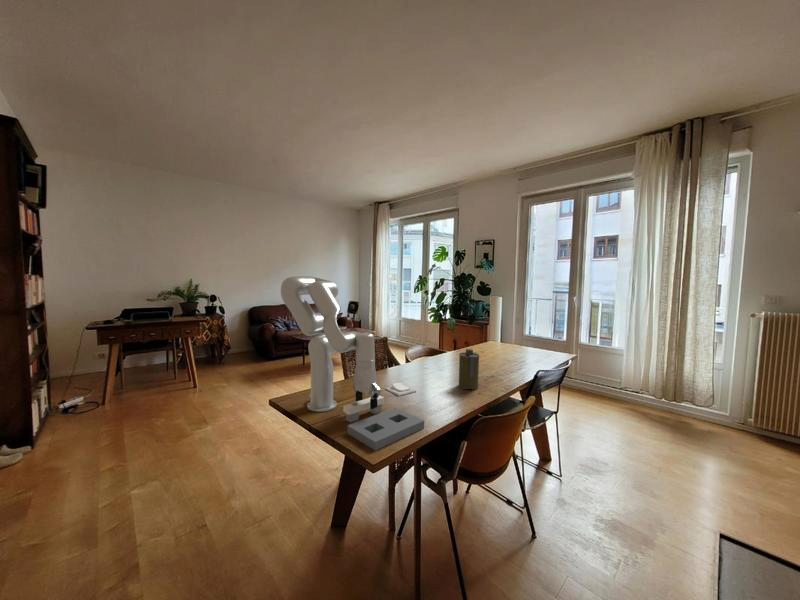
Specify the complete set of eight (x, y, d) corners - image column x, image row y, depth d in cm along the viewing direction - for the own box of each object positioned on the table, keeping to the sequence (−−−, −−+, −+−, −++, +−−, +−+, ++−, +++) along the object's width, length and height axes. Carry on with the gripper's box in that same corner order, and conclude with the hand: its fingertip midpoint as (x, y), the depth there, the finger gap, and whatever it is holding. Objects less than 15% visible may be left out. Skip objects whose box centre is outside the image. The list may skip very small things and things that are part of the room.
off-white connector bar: (343, 420, 128) (343, 405, 128) (378, 408, 141) (378, 394, 140) (349, 423, 125) (349, 408, 125) (384, 411, 138) (384, 396, 138)
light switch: (401, 379, 172) (416, 385, 162) (401, 387, 172) (416, 393, 162) (384, 383, 166) (399, 389, 156) (384, 391, 166) (399, 397, 156)
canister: (456, 383, 176) (457, 347, 175) (475, 383, 177) (476, 347, 175) (461, 390, 165) (462, 352, 164) (481, 390, 166) (482, 352, 165)
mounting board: (347, 433, 118) (347, 425, 118) (395, 414, 134) (395, 407, 134) (375, 450, 106) (375, 441, 106) (424, 428, 123) (424, 420, 123)
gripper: (345, 361, 135) (346, 401, 136) (371, 369, 123) (372, 413, 124) (360, 358, 140) (360, 397, 141) (386, 365, 128) (387, 407, 129)
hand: (366, 404), depth 132 cm, fingers open, 9 cm apart
